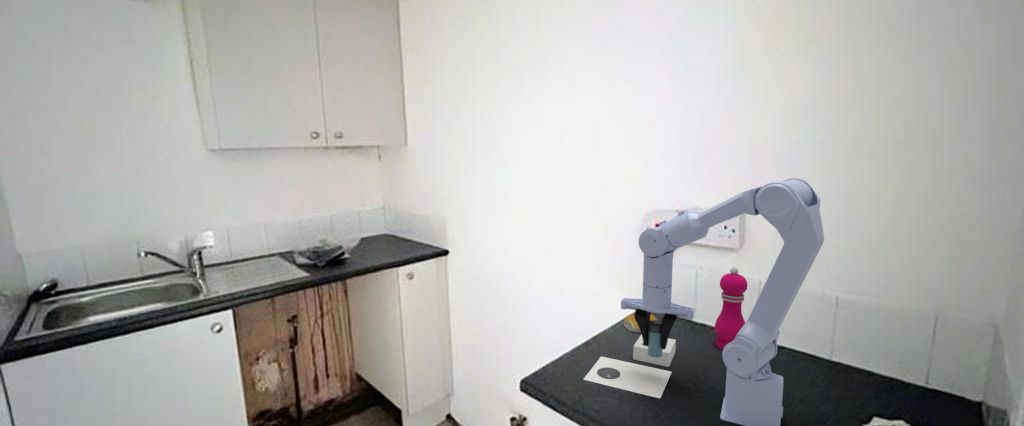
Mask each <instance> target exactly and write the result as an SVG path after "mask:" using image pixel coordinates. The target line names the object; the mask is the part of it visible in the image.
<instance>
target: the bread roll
mask: <svg viewBox="0 0 1024 426" xmlns="http://www.w3.org/2000/svg"><path fill="white" fill-rule="evenodd" d="M634 315H635V313H634V314H628V315H626V316H625V318H624V319H623V326H624V327H623V328H625V329H626V330H628V331H630V333H631V332H632V333H635V334H636V333H637V334H641V331H640V328H639V326H638V324H637V322H636V320H635V318H634ZM651 320H657V321H659V320H658V318H656V317H655V316H654V314H651V315H650V321H651Z"/></svg>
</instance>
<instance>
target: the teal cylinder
mask: <svg viewBox="0 0 1024 426" xmlns="http://www.w3.org/2000/svg"><path fill="white" fill-rule="evenodd" d="M657 320H658V319H657ZM657 320H651V321H649V322H648V355H649V356H651V357H655V358H658V357H661V356H662V349H661V342H662V320H658V321H657Z"/></svg>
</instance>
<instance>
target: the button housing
mask: <svg viewBox="0 0 1024 426" xmlns="http://www.w3.org/2000/svg"><path fill="white" fill-rule="evenodd" d="M676 343H677V340H676V339H673V338H669V337H668V340H667V346H666V348H665V349H662V356H661V357H658V358H655V357H651V356H649V355H648V346H644V343H643V338H642V334H641V333H640V336H639V337H638V339H637V340H636V342H635V343H634V344H633V349H632V350H633V351H632V352H633V353H632V354H633V355H632V359H633V360H635V361H640V362H643V363H648V364H653V365H658V366H662V367H667V368H670V365H671V363H672V361H673V359H674V357H675V355H676V346H677V345H676Z"/></svg>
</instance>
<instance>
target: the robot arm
mask: <svg viewBox="0 0 1024 426" xmlns="http://www.w3.org/2000/svg"><path fill="white" fill-rule="evenodd" d="M820 206H821V198H820V197H819V195H818V194H817V192H816V191H815V190H814V188H813V186H811V184H810V183H809V182H808V181H806V180H804V179H801V178H798V177H795V178H794V177H793V178H786V179H784V180H783V181H782V180H781V181H771V182H768V183H765V184H763V186H759V187H754V188H751V189H747V190H744V191H741V192H740V193H737V194H735V195H734V196H731V197H729V198H727V199H725V200H723V201H722V202H720V203H718V204H715V205H714V206H712V207H710V208H708V209H706V210H704V211H702V212H700V211H697V210H695V209H690V210H688V209H682V210H681V211H679V212H678V213H677V214H678V216H675V217H673V218H672V219H669V220H662V221H659V223H658V225H659V226H656V227H655V226H654V227H648V228H646V229H645V230H644V231H643V232H641V233H640V235H639V238H638V246H639V249H640V250H641V252H642V253H643V267H642V268H643V270H642V271H643V272H642V273H643V274H642V298H629V297H628V298H627V297H623V298H622V299H621V300H620V309H621V310H631V311H635V313H634V314H635V315H634V318H635V320H636V322H637V324H638V326H639V328H640V331H641V333H640V335H641V334H642V338H643V343H644V346H647V345H648V322H649V321H650V315H652V314H658V315H663V317H662V318H661V322H662V342H661V349H665V348H666V346H667V340H668V338H669V337H670V333H671V330H672V329H673V326H674V324H675V323H676V321H677V319H678V318H683V319H686V320H688V321H693V319H694V317H695V316H694V315H695V308H693V307H689V306H684V305H681V304H676V303H673V302H672V291H673V288H672V285H673V267H674V266H673V259H674V253H675V251H676V250H677V249H680V248H682V247H684V246H686V245H689V244H691V243H694V242H696V241H699V240H701V239H704V238H706V237H707V235H708V233H709V230H710V228H711V227H714V226H716V225H719V224H721V223H724V222H726V221H729V220H732V219H734V218H737V217H739V216H741V215H750V216H753V217H754V216H755V217H756V216H758V215H761V216H762V217H763V219H765V220H766V221H767V222H768V223H769V224H770V225H771V226H772V227H774V228H775V229H776V230H777V232H778V234H779V235H780V238H781V239H782V241H783V245H782V247H781V250H780V252H779V254H778V256H777V258H776V260H775V262H774V264H773V266H772V268H771V270H770V273H769V275H768V277H767V278H766V281H765V283H764V285H763V287H762V289H761V291H760V293H759V295H758V298H757V300H756V302H755V304H754V306H753V308H752V310H751V311H750V314H749V316H748V319H747V320H746V322H745V324H744V325H743V327H742V328H741V329H740V331H739V332H738V333H737V335H736V337H735V339H734V340H733V341H732V342H730V343H728V344H727V345H726V346H725V347H724V349H723V350H722V352H721V354H722V355H721V357H722V360H723V363H724V364H723V365H724V366H725V367H726V379H725V380H726V381H725V394H724V397H723V401H722V404H721V405H722V407H721V411H720V416H719V418H720V420H721V421H726V422H730V423H733V424H737V425H741V426H781V419H782V418H783V417H784V406H783V397H784V396H783V395H784V394H783V393H784V377H783V375H779V374H776V373H774V372H772V368H771V365H770V364H771V363H770V361H771V360H773V359H774V358H775V357H776V356H777V354H778V343H777V342H778V338H779V336H780V334H781V331H780V328H781V326H782V324H783V322H784V320H785V318H786V316H787V315H788V312H789V310H790V309H791V306H792V304H793V303H794V301H795V299H796V297H797V295H798V293H799V291H800V290H801V287H802V286H803V283H804V281H805V280H806V277H807V276H808V273H809V272H810V269H811V268H812V266H813V264H814V262H815V260H816V258H817V256H818V254H819V252H820V250H821V248H822V247H823V244H824V240H825V235H824V229H823V223H822V216H821V212H820V211H821V210H820V208H821V207H820ZM651 313H652V314H651Z"/></svg>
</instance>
